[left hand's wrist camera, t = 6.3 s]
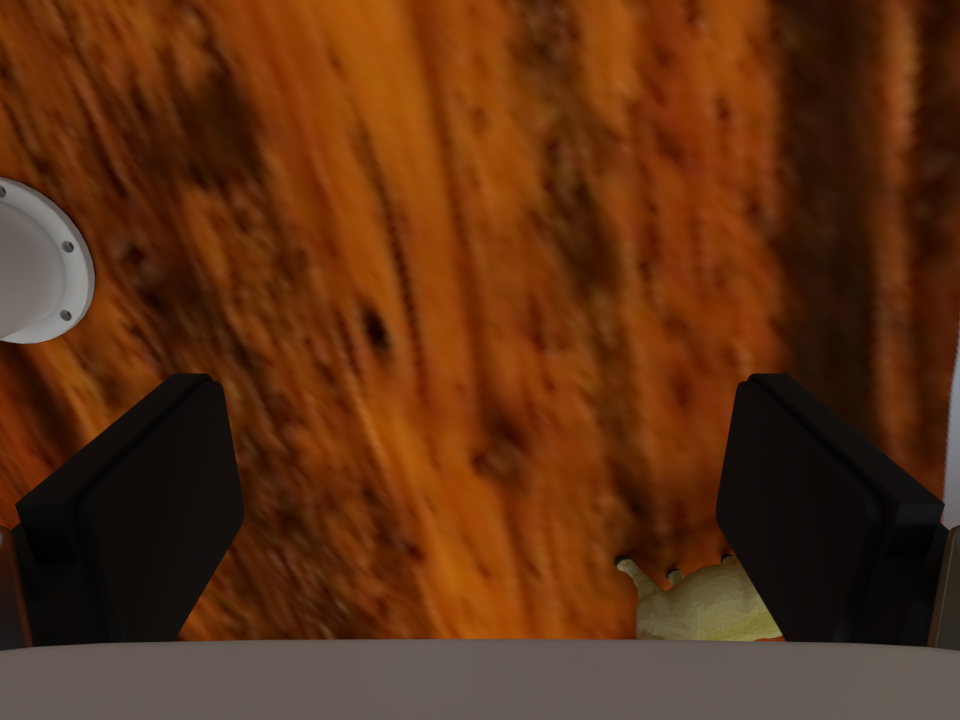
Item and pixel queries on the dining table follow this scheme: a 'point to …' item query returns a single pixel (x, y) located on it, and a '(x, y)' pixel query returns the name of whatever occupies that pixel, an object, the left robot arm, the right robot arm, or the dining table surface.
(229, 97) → the dining table surface
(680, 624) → the toy
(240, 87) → the dining table surface
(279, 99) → the dining table surface
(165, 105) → the dining table surface
